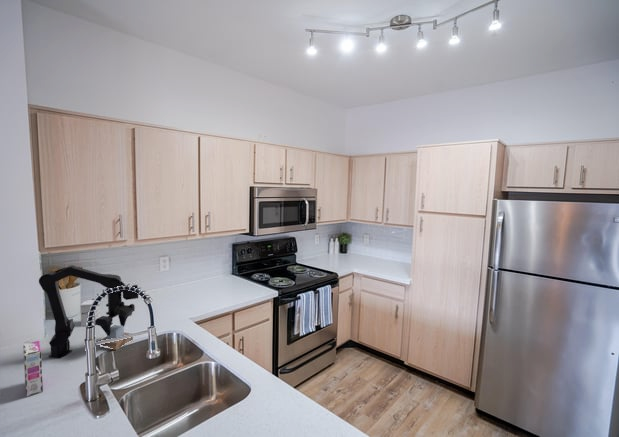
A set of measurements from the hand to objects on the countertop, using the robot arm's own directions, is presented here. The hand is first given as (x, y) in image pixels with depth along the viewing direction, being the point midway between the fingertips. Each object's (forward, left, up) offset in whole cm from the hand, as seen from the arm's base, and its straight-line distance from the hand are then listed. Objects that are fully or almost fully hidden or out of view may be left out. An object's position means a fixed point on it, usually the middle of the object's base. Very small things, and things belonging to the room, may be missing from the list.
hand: (115, 331), depth 152 cm
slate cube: (0, 0, -3) cm, 3 cm away
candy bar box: (-35, +5, -7) cm, 37 cm away
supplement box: (+19, +32, -7) cm, 38 cm away
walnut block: (0, 0, -7) cm, 7 cm away
